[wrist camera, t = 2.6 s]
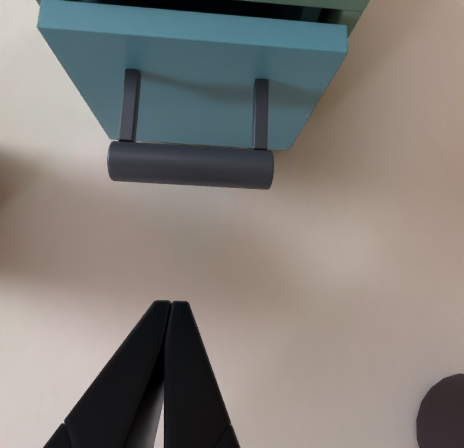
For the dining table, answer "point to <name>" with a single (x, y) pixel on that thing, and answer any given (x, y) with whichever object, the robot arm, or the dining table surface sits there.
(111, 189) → the dining table surface
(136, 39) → the compartment
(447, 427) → the bottle
